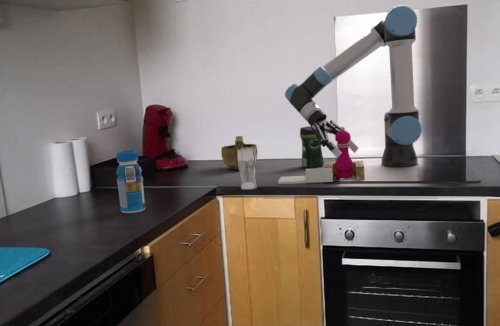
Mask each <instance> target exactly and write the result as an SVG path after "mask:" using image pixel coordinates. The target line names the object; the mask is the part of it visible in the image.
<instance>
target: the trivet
mask: <svg viewBox="0 0 500 326" xmlns="http://www.w3.org/2000/svg"><path fill="white" fill-rule="evenodd" d="M292 184H297V185H298V184H307V183H306V175H294V176H293V175H292V176H280V177H279V179H278V182H277V185H292Z"/></svg>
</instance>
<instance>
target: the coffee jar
mask: <svg viewBox="0 0 500 326" xmlns="http://www.w3.org/2000/svg"><path fill="white" fill-rule="evenodd" d="M299 138H300V139H301V149H302V150H301V166H302V167H303V168H304V169H315V168H320V167H323V166H324V165H325V162H324V156H323V151H322V145H320V144H319V141H318V139H317V137H316V135H315V133H314V131H313V130H312V129H311V125H308V126H304V127H300V130H299Z"/></svg>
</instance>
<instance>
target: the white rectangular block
mask: <svg viewBox="0 0 500 326" xmlns="http://www.w3.org/2000/svg"><path fill="white" fill-rule="evenodd" d="M305 176H306V183H305V184H308V183H310V184H311V183H312V184H313V183H330V182H332V183H333V182H334V175H333V174H332V168H325V167H322V168H320V167H316V168H305Z"/></svg>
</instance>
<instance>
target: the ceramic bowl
mask: <svg viewBox="0 0 500 326" xmlns="http://www.w3.org/2000/svg"><path fill="white" fill-rule="evenodd" d="M243 140H244V137H243V135H237V136H235V139H234V144H230V145H224V146H221V149H220V150H221V151H220V152H221V158H222V161H223V164H224V165H225V166H226V167H228V168H230V169H231V170H232V169H233V170H236V171H239V166H238V149H243V148H255V154H256V160H257V158H258V147H257V144H255V143H254V144H253V143H245V142H244V141H243Z"/></svg>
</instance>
